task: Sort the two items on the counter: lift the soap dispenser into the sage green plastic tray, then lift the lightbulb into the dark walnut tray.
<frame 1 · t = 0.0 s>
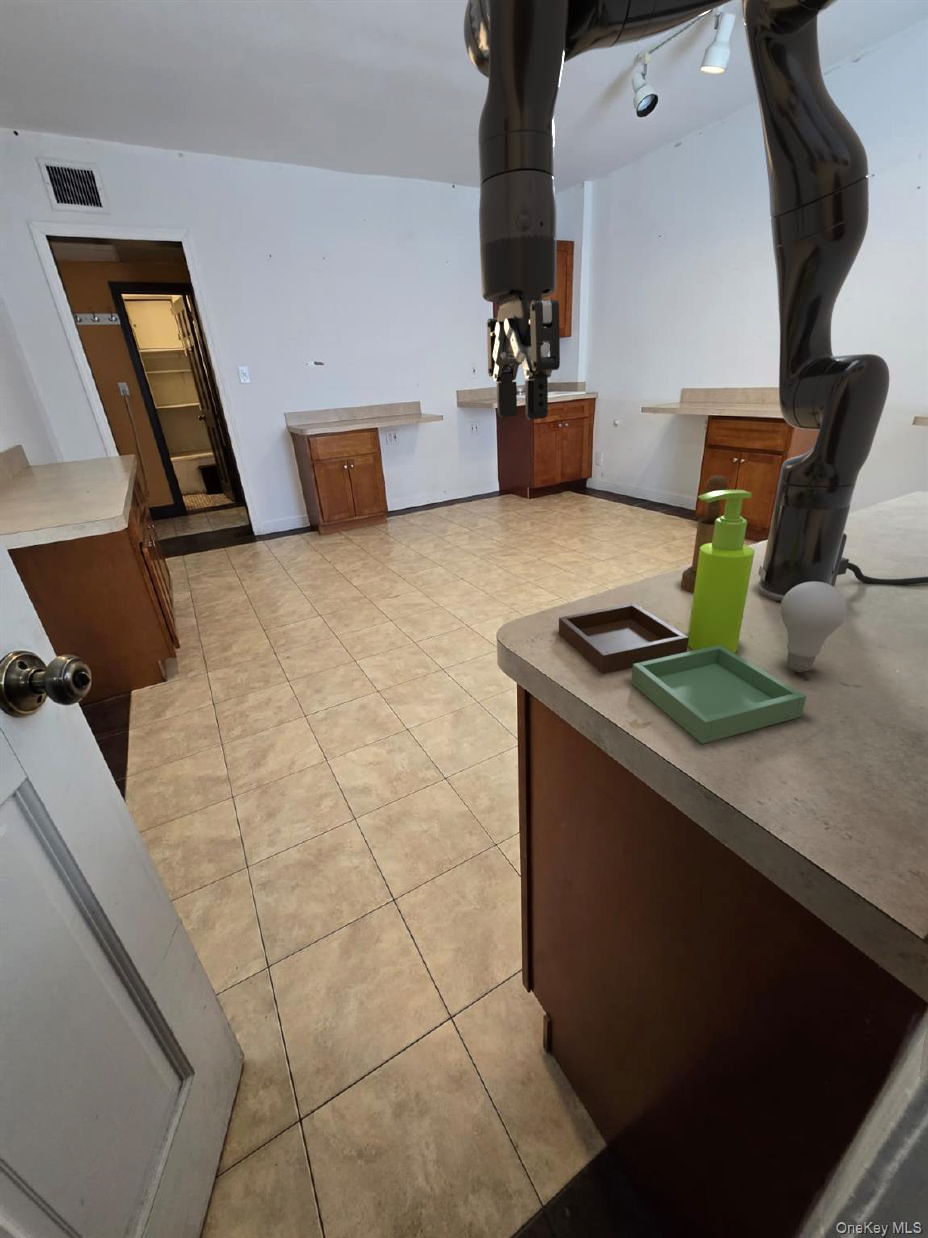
hand: (520, 417, 57), 29 cm above the countertop, tool pointing down, fingers open, 8 cm apart
walnut tray: (618, 644, 69), on the countertop
lightbulb: (797, 672, 60), on the countertop
wooden pepper mill: (701, 588, 85), on the countertop
soap dispenser: (707, 647, 67), on the countertop
green tray: (710, 698, 56), on the countertop
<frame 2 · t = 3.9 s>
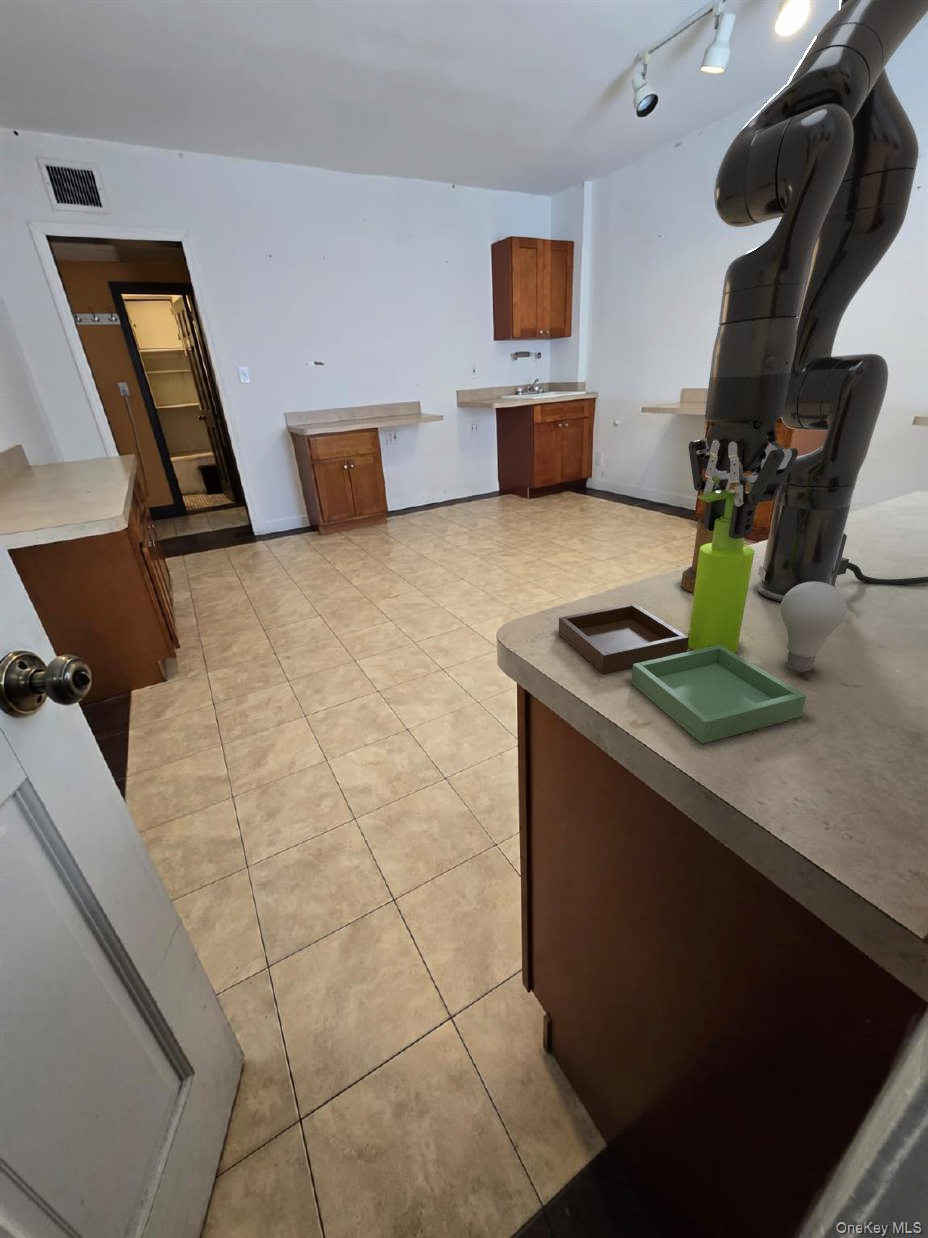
hand: (725, 532, 60), 15 cm above the countertop, tool pointing down, fingers closed on soap dispenser, 3 cm apart
soap dispenser: (707, 647, 67), on the countertop, touching gripper
everything else where it was.
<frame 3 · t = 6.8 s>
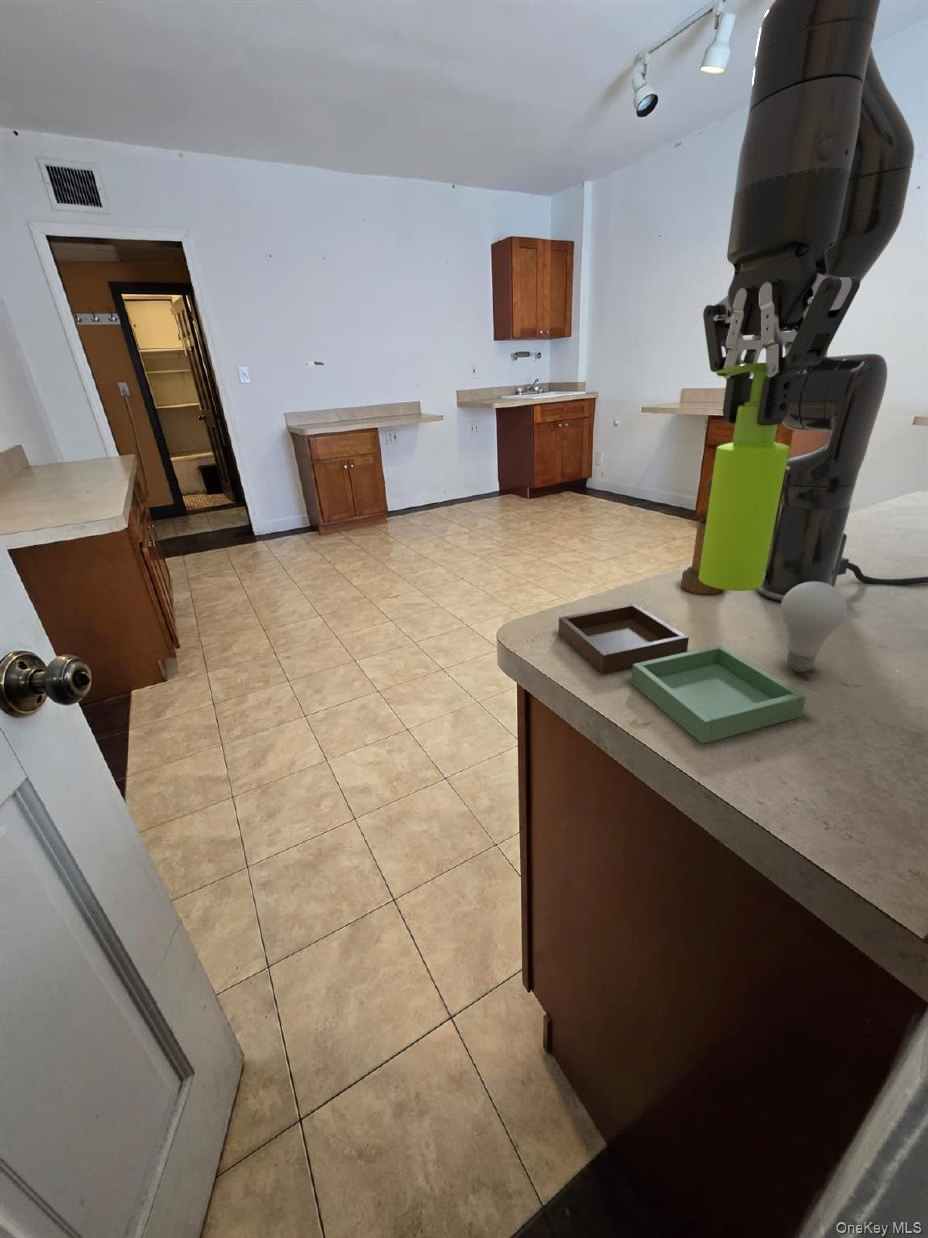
hand: (751, 422, 46), 28 cm above the countertop, tool pointing down, fingers closed on soap dispenser, 3 cm apart
soap dispenser: (724, 582, 52), point 13 cm above the countertop, touching gripper
everything else where it was.
when the fingers open (16 cm above the countertop, at t = 10.0 s): soap dispenser stays where it is, resting on green tray.
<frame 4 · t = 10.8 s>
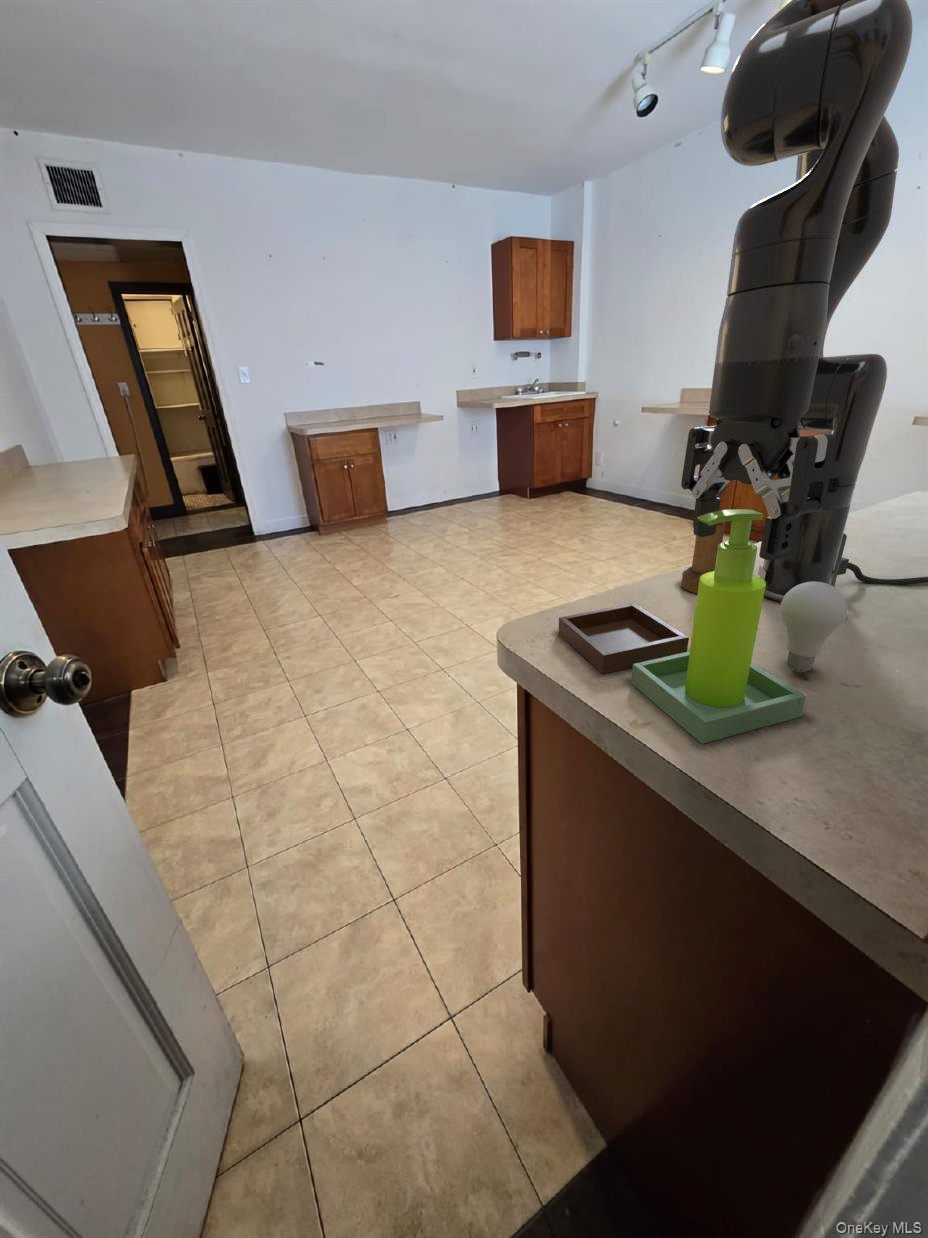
hand: (735, 545, 49), 17 cm above the countertop, tool pointing down, fingers open, 8 cm apart
soap dispenser: (709, 694, 56), resting on green tray
everything else where it was.
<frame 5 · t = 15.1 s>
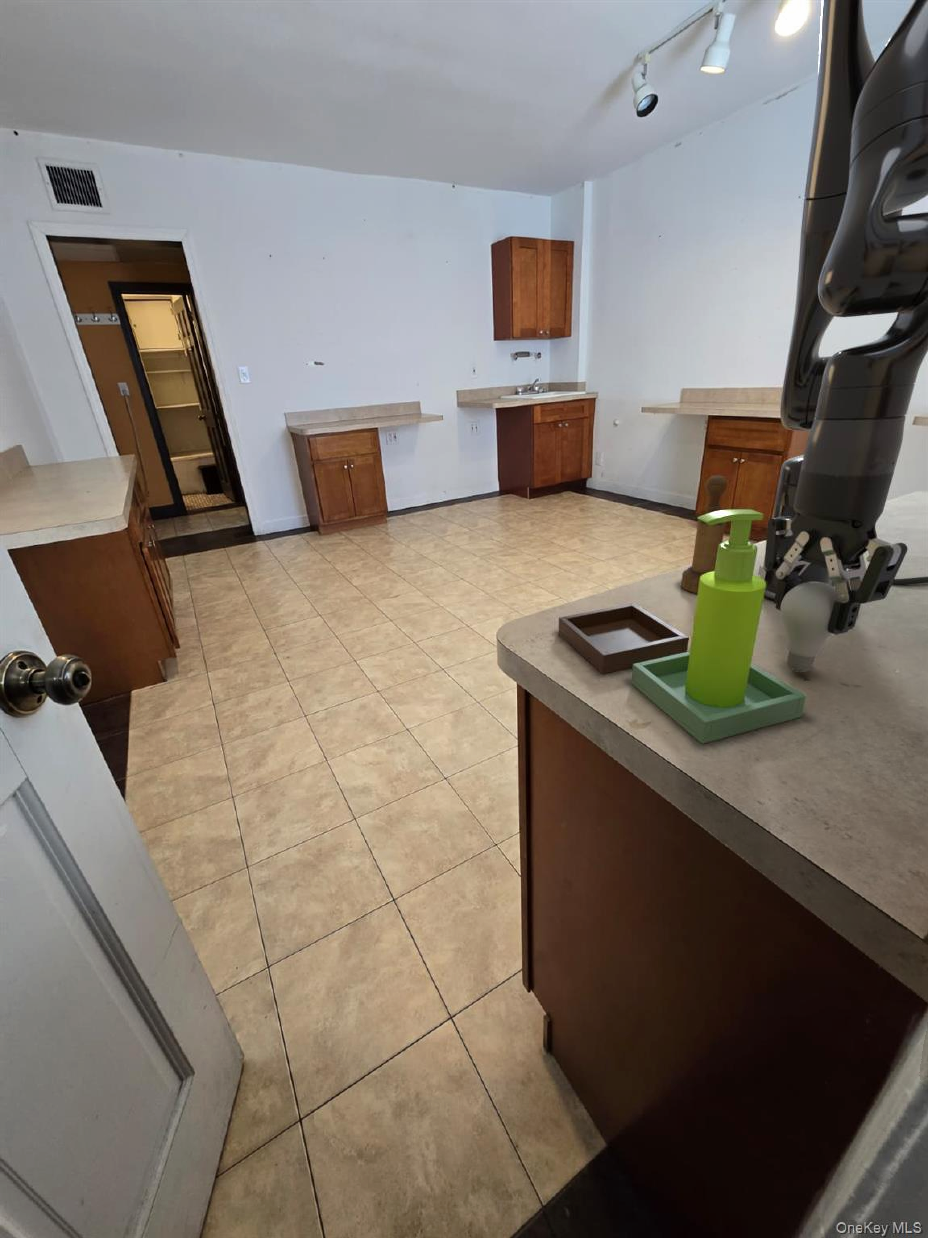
hand: (809, 619, 57), 7 cm above the countertop, tool pointing down, fingers closed on lightbulb, 6 cm apart
lightbulb: (797, 672, 60), on the countertop, touching gripper
everything else where it was.
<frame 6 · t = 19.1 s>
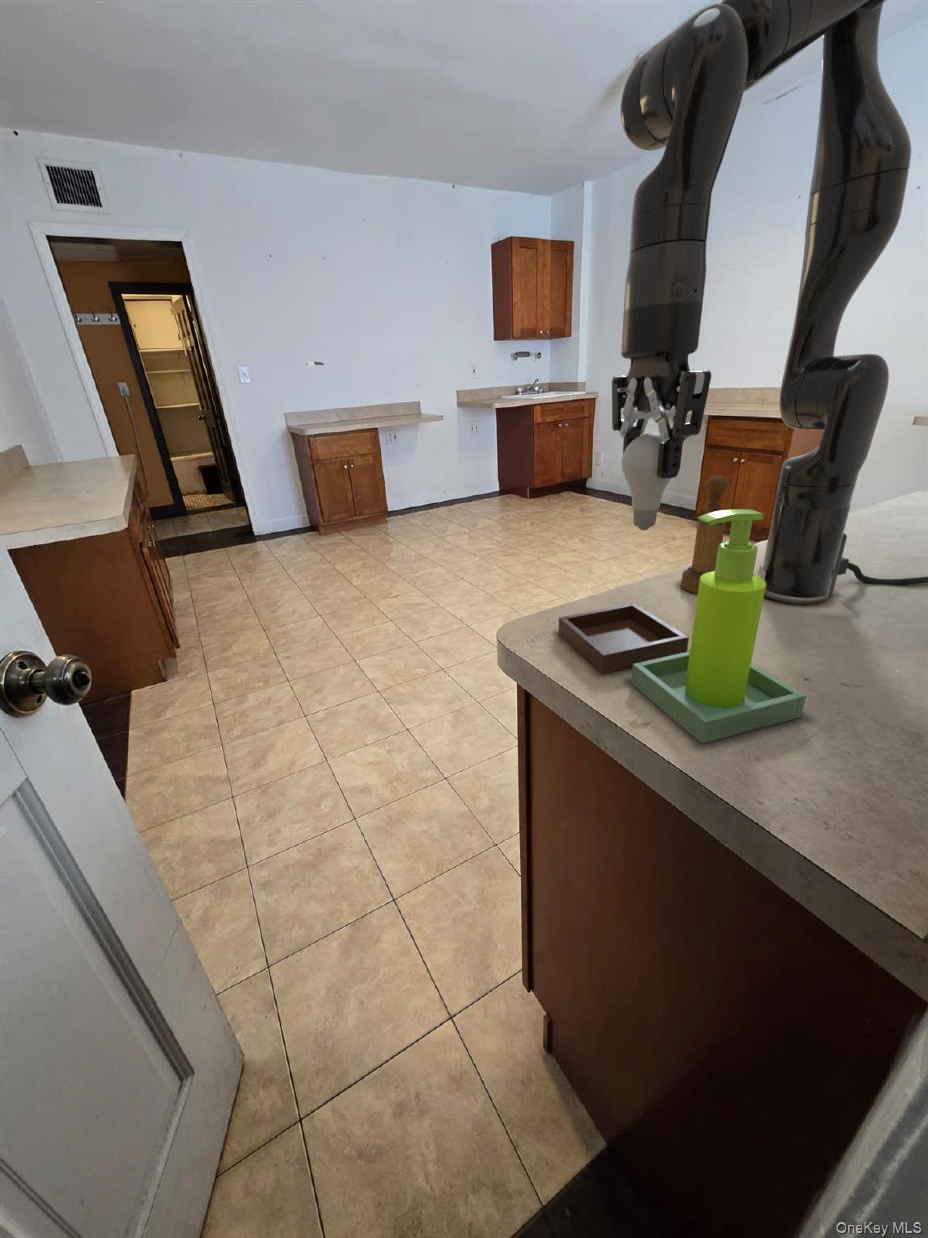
hand: (648, 473, 59), 22 cm above the countertop, tool pointing down, fingers closed on lightbulb, 6 cm apart
lightbulb: (643, 531, 61), point 16 cm above the countertop, touching gripper
everything else where it was.
when the fingers open (7 cm above the countertop, at t = 23.1 s): lightbulb stays where it is, resting on walnut tray.
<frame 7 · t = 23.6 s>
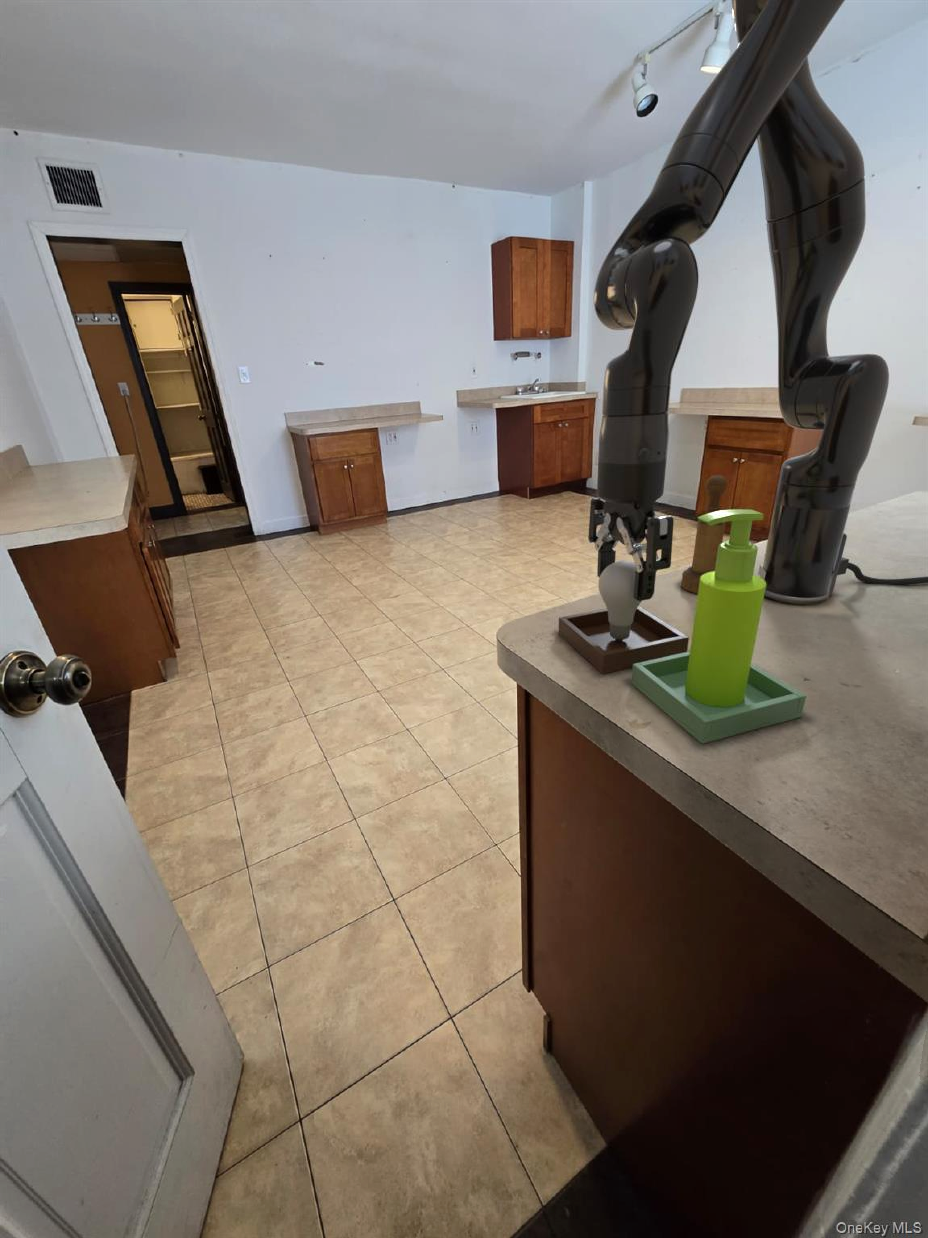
hand: (623, 587, 65), 8 cm above the countertop, tool pointing down, fingers open, 8 cm apart
lightbulb: (619, 641, 69), resting on walnut tray
everything else where it was.
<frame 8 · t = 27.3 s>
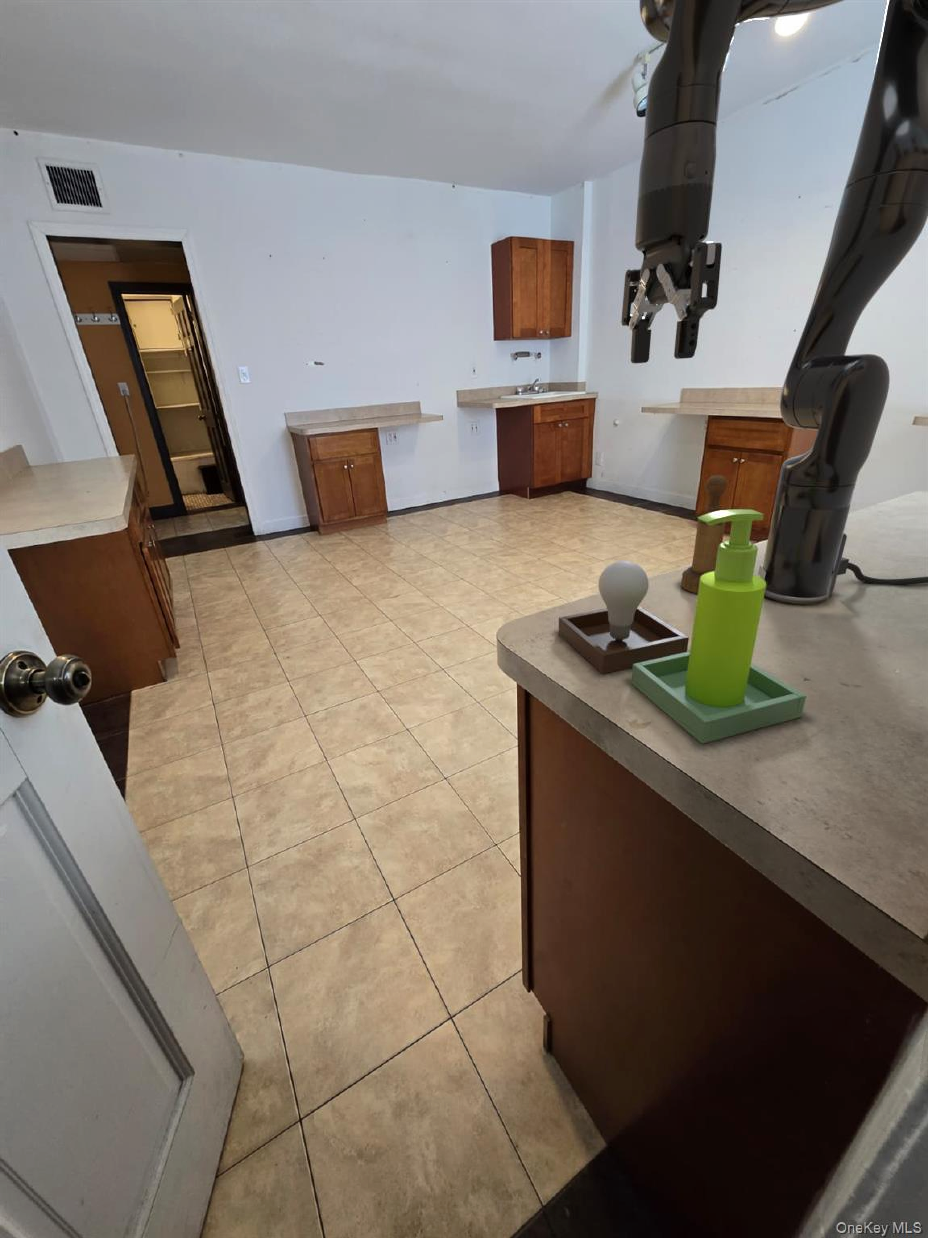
hand: (660, 360, 62), 34 cm above the countertop, tool pointing down, fingers open, 8 cm apart
nothing on the countertop moved.
at the end: soap dispenser inside the target area in the green tray (0.3 cm from its centre), point 0.4 cm above the green tray's base; lightbulb inside the target area in the walnut tray (0.0 cm from its centre), point 0.4 cm above the walnut tray's base; soap dispenser tilted 0° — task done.
